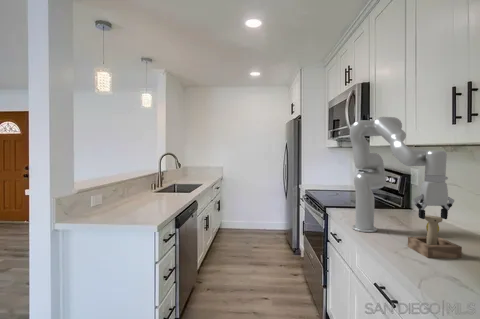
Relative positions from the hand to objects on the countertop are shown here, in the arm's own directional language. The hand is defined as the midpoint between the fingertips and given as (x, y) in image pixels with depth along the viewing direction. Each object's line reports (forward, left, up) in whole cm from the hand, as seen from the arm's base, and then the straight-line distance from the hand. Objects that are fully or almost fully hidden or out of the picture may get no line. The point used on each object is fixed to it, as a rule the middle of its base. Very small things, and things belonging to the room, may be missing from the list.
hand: (432, 218), depth 128 cm
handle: (0, 0, -15) cm, 15 cm away
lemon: (-23, +16, -15) cm, 32 cm away
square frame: (+1, 0, -15) cm, 14 cm away
